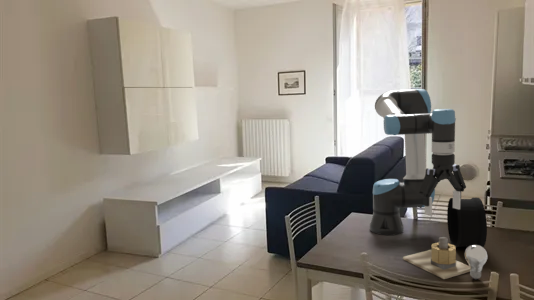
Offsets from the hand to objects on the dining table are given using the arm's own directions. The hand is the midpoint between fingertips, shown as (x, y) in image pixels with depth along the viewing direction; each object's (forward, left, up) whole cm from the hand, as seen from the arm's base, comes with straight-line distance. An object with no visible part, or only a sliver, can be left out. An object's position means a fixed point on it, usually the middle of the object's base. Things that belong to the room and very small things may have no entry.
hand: (442, 211), depth 151 cm
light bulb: (+13, +2, -21) cm, 25 cm away
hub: (+1, 0, -18) cm, 18 cm away
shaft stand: (-2, 0, -21) cm, 21 cm away
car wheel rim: (-10, +23, -21) cm, 32 cm away
